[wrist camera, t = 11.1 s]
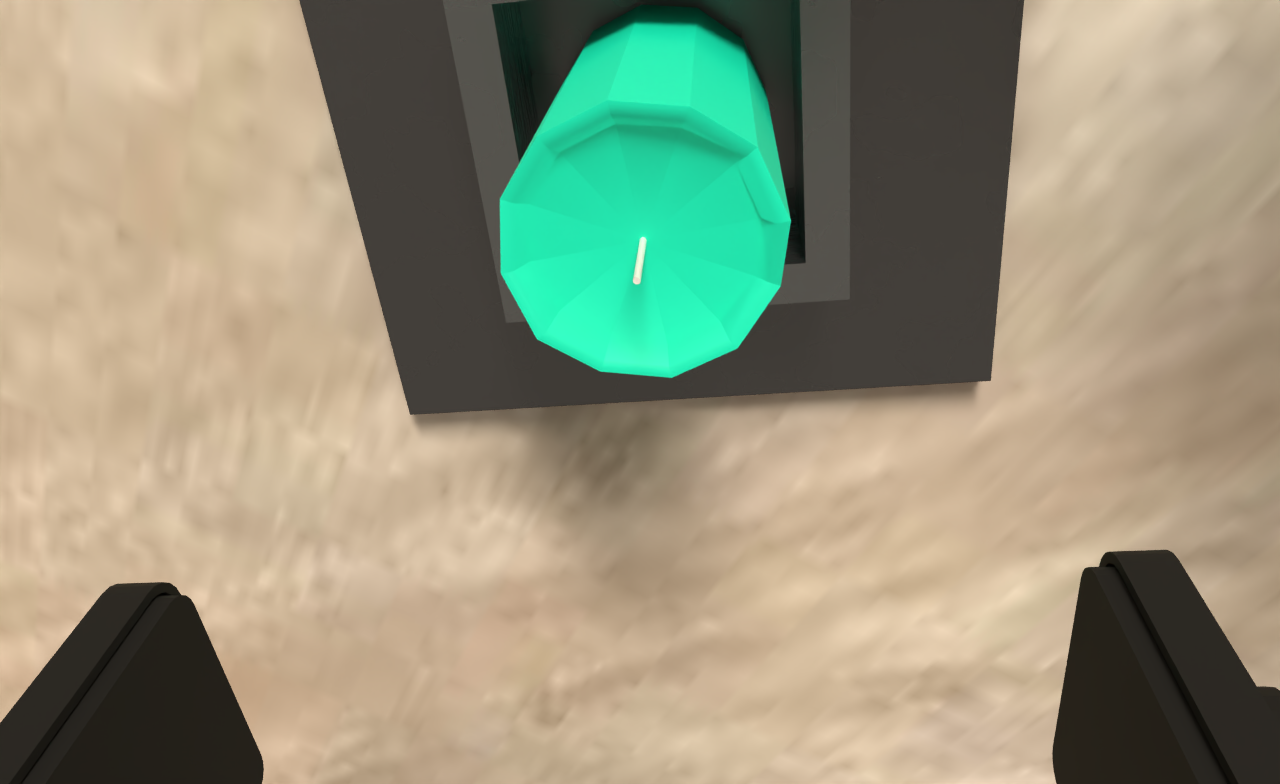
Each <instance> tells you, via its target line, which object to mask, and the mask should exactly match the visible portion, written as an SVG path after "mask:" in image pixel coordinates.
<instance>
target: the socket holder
mask: <svg viewBox="0 0 1280 784" xmlns="http://www.w3.org/2000/svg"><path fill="white" fill-rule="evenodd" d="M300 4H301V8H302V12H303V15H304V19H305V23H306V27H307V30H308V34H309V38H310V42H311V45H312V49H313V53H314V57H315V60H316V64H317V68H318V71H319V75H320V79H321V83H322V86H323V90H324V94H325V98H326V101H327V105H328V109H329V113H330V116H331V120H332V124H333V128H334V131H335V135H336V139H337V143H338V146H339V150H340V154H341V158H342V161H343V165H344V169H345V173H346V176H347V180H348V184H349V187H350V191H351V195H352V199H353V202H354V206H355V210H356V214H357V217H358V221H359V225H360V229H361V232H362V236H363V240H364V244H365V247H366V251H367V255H368V259H369V262H370V266H371V270H372V274H373V277H374V281H375V285H376V289H377V292H378V296H379V300H380V304H381V307H382V311H383V315H384V318H385V322H386V326H387V330H388V333H389V337H390V341H391V345H392V348H393V352H394V356H395V360H396V363H397V367H398V371H399V375H400V378H401V382H402V386H403V390H404V393H405V397H406V401H407V405H408V408H409V412H410V415H413V414H431V413H448V412H465V411H482V410H499V409H516V408H533V407H550V406H567V405H584V404H602V403H619V402H636V401H653V400H670V399H687V398H704V397H721V396H738V395H756V394H773V393H790V392H807V391H824V390H841V389H858V388H875V387H892V386H909V385H927V384H944V383H961V382H978V381H991V371H992V359H993V348H994V337H995V325H996V314H997V302H998V291H999V279H1000V268H1001V257H1002V245H1003V234H1004V222H1005V211H1006V199H1007V188H1008V177H1009V165H1010V154H1011V142H1012V131H1013V120H1014V108H1015V97H1016V85H1017V74H1018V62H1019V51H1020V40H1021V28H1022V17H1023V5H1024V0H300ZM640 5H658V6H677V7H695V8H699V9H700V10H701V11H703V12H704V13H706V14H707V15H709V16H710V17H712V18H713V19H714V20H716V21H717V22H719V23H720V24H722V25H723V26H724V27H726V28H727V29H729V30H730V31H732V32H733V33H735V34H736V35H737V36H739V37H740V38H742V39H743V40H744V42H745V45H746V47H747V49H748V51H749V54H750V56H751V58H752V60H753V63H754V65H755V67H756V69H757V71H758V74H759V76H760V78H761V80H762V83H763V85H764V87H765V89H766V94H767V99H768V104H769V110H770V115H771V120H772V125H773V130H774V135H775V141H776V146H777V151H778V156H779V161H780V167H781V172H782V177H783V182H784V187H785V193H786V198H787V203H788V208H789V213H790V219H791V224H790V230H789V237H788V243H787V249H786V256H785V262H784V269H783V275H782V281H781V286H780V288H779V289H778V291H777V292H776V294H775V295H774V297H773V298H772V299H771V301H770V302H769V304H768V305H767V307H766V308H765V310H764V311H763V312H762V314H761V315H760V317H759V318H758V320H757V321H756V323H755V324H754V325H753V327H752V328H751V330H750V331H749V333H748V334H747V336H746V337H745V338H744V340H743V341H742V343H741V344H740V346H739V347H738V349H735V350H733V351H731V352H729V353H726V354H724V355H722V356H720V357H717V358H715V359H713V360H711V361H708V362H706V363H704V364H702V365H699V366H697V367H695V368H693V369H691V370H688V371H686V372H684V373H682V374H679V375H677V376H675V377H673V378H668V377H657V376H645V375H634V374H622V373H611V372H600V371H598V370H596V369H594V368H592V367H590V366H588V365H586V364H584V363H583V362H581V361H579V360H577V359H575V358H573V357H571V356H569V355H567V354H565V353H563V352H561V351H559V350H557V349H555V348H553V347H551V346H549V345H547V344H545V343H543V342H541V341H539V340H537V338H536V337H535V335H534V333H533V331H532V329H531V328H530V326H529V324H528V322H527V320H526V318H525V317H524V315H523V313H522V311H521V309H520V308H519V306H518V304H517V302H516V300H515V298H514V297H513V295H512V293H511V291H510V289H509V288H508V286H507V284H506V282H505V280H504V278H503V277H502V275H501V253H500V198H501V196H502V194H503V192H504V190H505V188H506V187H507V185H508V183H509V181H510V179H511V177H512V175H513V174H514V172H515V170H516V168H517V166H518V164H519V163H520V161H521V159H522V157H523V155H524V153H525V152H526V150H527V148H528V146H529V144H530V142H531V141H532V139H533V137H534V135H535V133H536V131H537V130H538V128H539V126H540V124H541V122H542V120H543V119H544V117H545V115H546V113H547V111H548V109H549V108H550V106H551V104H552V102H553V100H554V98H555V97H556V95H557V93H558V91H559V89H560V87H561V86H562V84H563V82H564V80H565V78H566V76H567V75H568V73H569V71H570V70H571V68H572V66H573V64H574V63H575V61H576V59H577V58H578V56H579V54H580V52H581V51H582V49H583V47H584V46H585V44H586V42H587V40H588V39H589V37H590V35H591V34H592V32H593V31H594V30H596V29H598V28H600V27H601V26H603V25H605V24H607V23H609V22H611V21H612V20H614V19H616V18H618V17H620V16H622V15H623V14H625V13H627V12H629V11H631V10H633V9H634V8H636V7H638V6H640Z"/></svg>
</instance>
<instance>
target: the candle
mask: <svg viewBox="0 0 1280 784" xmlns="http://www.w3.org/2000/svg"><path fill="white" fill-rule="evenodd" d="M790 224H791V219H790V213H789V208H788V203H787V198H786V193H785V187H784V182H783V177H782V172H781V167H780V161H779V156H778V151H777V146H776V141H775V135H774V130H773V125H772V120H771V115H770V110H769V104H768V99H767V94H766V89H765V87H764V85H763V83H762V80H761V78H760V76H759V74H758V71H757V69H756V67H755V65H754V63H753V60H752V58H751V56H750V54H749V51H748V49H747V47H746V45H745V42H744V40H743V39H742V38H740V37H739V36H737V35H736V34H735V33H733V32H732V31H730V30H729V29H727V28H726V27H724V26H723V25H722V24H720V23H719V22H717V21H716V20H714V19H713V18H712V17H710V16H709V15H707V14H706V13H704V12H703V11H701V10H700V9H699V8H695V7H677V6H658V5H640V6H638V7H636V8H634V9H633V10H631V11H629V12H627V13H625V14H623V15H622V16H620V17H618V18H616V19H614V20H612V21H611V22H609V23H607V24H605V25H603V26H601V27H600V28H598V29H596V30H594V31H593V32H592V34H591V35H590V37H589V39H588V40H587V42H586V44H585V46H584V47H583V49H582V51H581V52H580V54H579V56H578V58H577V59H576V61H575V63H574V64H573V66H572V68H571V70H570V71H569V73H568V75H567V76H566V78H565V80H564V82H563V84H562V86H561V87H560V89H559V91H558V93H557V95H556V97H555V98H554V100H553V102H552V104H551V106H550V108H549V109H548V111H547V113H546V115H545V117H544V119H543V120H542V122H541V124H540V126H539V128H538V130H537V131H536V133H535V135H534V137H533V139H532V141H531V142H530V144H529V146H528V148H527V150H526V152H525V153H524V155H523V157H522V159H521V161H520V163H519V164H518V166H517V168H516V170H515V172H514V174H513V175H512V177H511V179H510V181H509V183H508V185H507V187H506V188H505V190H504V192H503V194H502V196H501V198H500V253H501V275H502V277H503V278H504V280H505V282H506V284H507V286H508V288H509V289H510V291H511V293H512V295H513V297H514V298H515V300H516V302H517V304H518V306H519V308H520V309H521V311H522V313H523V315H524V317H525V318H526V320H527V322H528V324H529V326H530V328H531V329H532V331H533V333H534V335H535V337H536V338H537V340H539V341H541V342H543V343H545V344H547V345H549V346H551V347H553V348H555V349H557V350H559V351H561V352H563V353H565V354H567V355H569V356H571V357H573V358H575V359H577V360H579V361H581V362H583V363H584V364H586V365H588V366H590V367H592V368H594V369H596V370H598V371H600V372H611V373H622V374H634V375H645V376H657V377H668V378H673V377H675V376H677V375H679V374H682V373H684V372H686V371H688V370H691V369H693V368H695V367H697V366H699V365H702V364H704V363H706V362H708V361H711V360H713V359H715V358H717V357H720V356H722V355H724V354H726V353H729V352H731V351H733V350H735V349H738V347H739V346H740V344H741V343H742V341H743V340H744V338H745V337H746V336H747V334H748V333H749V331H750V330H751V328H752V327H753V325H754V324H755V323H756V321H757V320H758V318H759V317H760V315H761V314H762V312H763V311H764V310H765V308H766V307H767V305H768V304H769V302H770V301H771V299H772V298H773V297H774V295H775V294H776V292H777V291H778V289H779V288H780V286H781V281H782V275H783V269H784V262H785V256H786V249H787V243H788V237H789V230H790Z"/></svg>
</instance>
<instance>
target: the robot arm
mask: <svg viewBox="0 0 1280 784" xmlns="http://www.w3.org/2000/svg"><path fill="white" fill-rule="evenodd" d="M1052 754H1053V768H1054V774H1055V779H1056V783H1057V784H1280V691H1279V690H1278V689H1277V688H1274V687H1257V686H1256V685H1255V683H1254V682H1253V680H1252V678H1251V677H1250V675H1249V673H1248V672H1247V670H1246V668H1245V667H1244V665H1243V664H1242V662H1241V660H1240V659H1239V657H1238V655H1237V654H1236V652H1235V651H1234V649H1233V647H1232V646H1231V644H1230V642H1229V641H1228V639H1227V638H1226V636H1225V634H1224V633H1223V631H1222V629H1221V628H1220V626H1219V625H1218V623H1217V621H1216V620H1215V618H1214V616H1213V615H1212V613H1211V612H1210V610H1209V608H1208V607H1207V605H1206V603H1205V602H1204V600H1203V599H1202V597H1201V595H1200V594H1199V592H1198V590H1197V589H1196V587H1195V586H1194V584H1193V582H1192V581H1191V579H1190V577H1189V576H1188V574H1187V573H1186V571H1185V569H1184V568H1183V566H1182V564H1181V563H1180V561H1179V560H1178V558H1177V557H1176V556H1175V555H1174V554H1173V553H1172V552H1170V551H1168V550H1147V551H1117V552H1107V553H1105V554H1104V555H1103V557H1102V558H1101V562H1100V565H1099V567H1088V568H1085V569H1084V571H1083V573H1082V577H1081V582H1080V588H1079V594H1078V600H1077V606H1076V612H1075V618H1074V624H1073V630H1072V636H1071V642H1070V648H1069V654H1068V660H1067V666H1066V672H1065V677H1064V683H1063V689H1062V695H1061V701H1060V707H1059V713H1058V719H1057V725H1056V731H1055V737H1054V743H1053V753H1052ZM263 771H264V768H263V760H262V756H261V754H260V751H259V749H258V747H257V745H256V742H255V740H254V738H253V736H252V733H251V731H250V729H249V727H248V724H247V722H246V720H245V718H244V715H243V713H242V711H241V709H240V706H239V704H238V702H237V700H236V697H235V695H234V693H233V691H232V688H231V686H230V684H229V682H228V679H227V677H226V675H225V673H224V670H223V668H222V666H221V664H220V661H219V659H218V657H217V655H216V652H215V650H214V648H213V646H212V644H211V641H210V639H209V637H208V635H207V632H206V630H205V628H204V626H203V623H202V621H201V619H200V617H199V614H198V612H197V610H196V608H195V605H194V603H193V602H192V600H191V599H190V598H189V597H187V596H185V595H181V594H180V593H179V591H178V590H177V588H176V587H175V586H173V585H172V584H171V583H164V582H158V583H127V584H116V585H113V586H111V587H109V588H108V589H107V590H106V591H105V592H104V593H103V594H102V595H101V596H100V597H99V598H98V600H97V601H96V602H95V604H94V605H93V606H92V607H91V609H90V610H89V611H88V612H87V614H86V615H85V616H84V618H83V619H82V620H81V621H80V623H79V624H78V625H77V626H76V628H75V629H74V630H73V631H72V633H71V634H70V635H69V637H68V638H67V639H66V640H65V642H64V643H63V644H62V645H61V647H60V648H59V649H58V651H57V652H56V653H55V654H54V656H53V657H52V658H51V659H50V661H49V662H48V663H47V664H46V666H45V667H44V668H43V670H42V671H41V672H40V673H39V675H38V676H37V677H36V678H35V680H34V681H33V682H32V684H31V685H30V686H29V687H28V689H27V690H26V691H25V692H24V694H23V695H22V696H21V697H20V699H19V700H18V701H17V703H16V704H15V705H14V706H13V708H12V709H11V710H10V711H9V713H8V714H7V715H6V717H5V718H4V719H3V720H2V722H1V723H0V784H262V780H263Z"/></svg>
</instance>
